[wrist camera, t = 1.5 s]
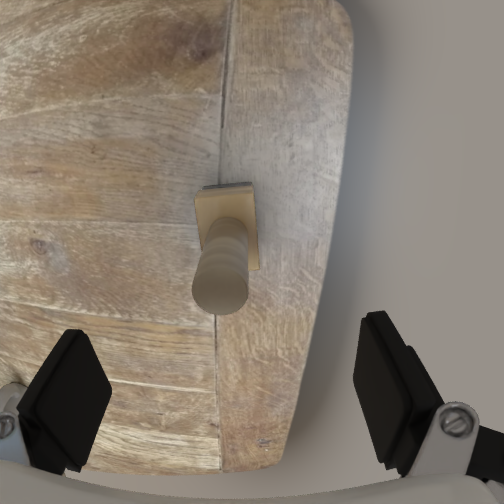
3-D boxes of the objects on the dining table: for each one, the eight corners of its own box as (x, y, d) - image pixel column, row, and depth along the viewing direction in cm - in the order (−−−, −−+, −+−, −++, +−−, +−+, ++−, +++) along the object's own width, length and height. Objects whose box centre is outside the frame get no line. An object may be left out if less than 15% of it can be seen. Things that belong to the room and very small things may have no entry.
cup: (15, 405, 34) (-7, 447, 25) (-4, 360, 30) (-35, 406, 21) (54, 422, 34) (33, 468, 26) (37, 378, 30) (8, 430, 22)
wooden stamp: (201, 185, 22) (168, 241, 12) (252, 180, 21) (257, 233, 12) (210, 251, 24) (190, 340, 14) (258, 247, 24) (265, 336, 14)
